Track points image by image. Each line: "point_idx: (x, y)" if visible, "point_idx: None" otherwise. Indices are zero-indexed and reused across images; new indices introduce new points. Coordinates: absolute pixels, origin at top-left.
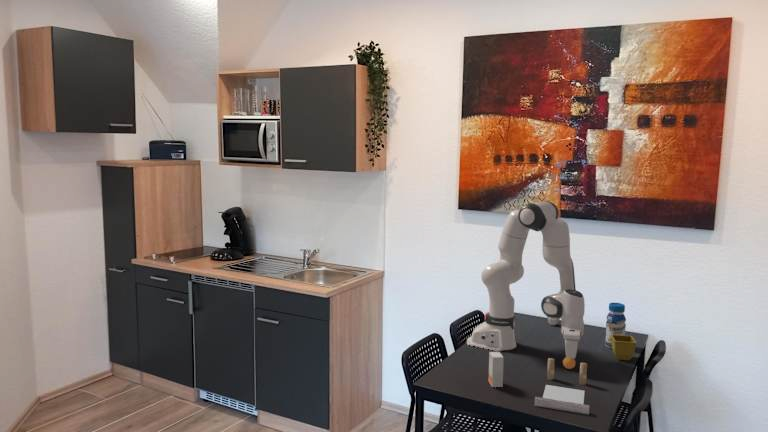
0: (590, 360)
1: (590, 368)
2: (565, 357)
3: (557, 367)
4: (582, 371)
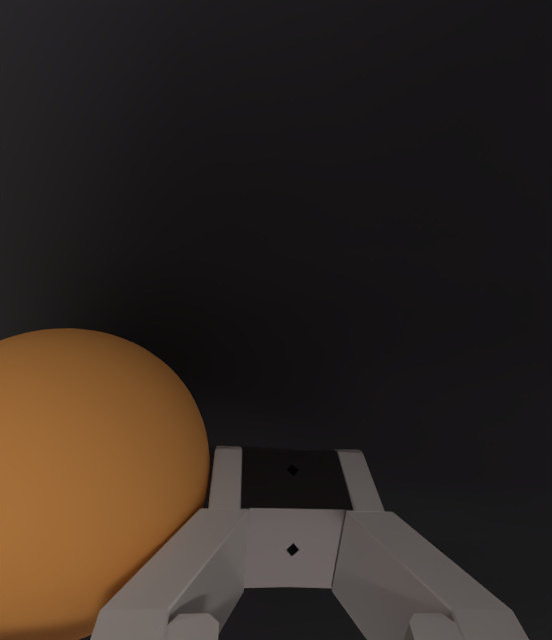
0: (543, 634)
1: (243, 633)
2: (5, 485)
3: (76, 189)
4: None
